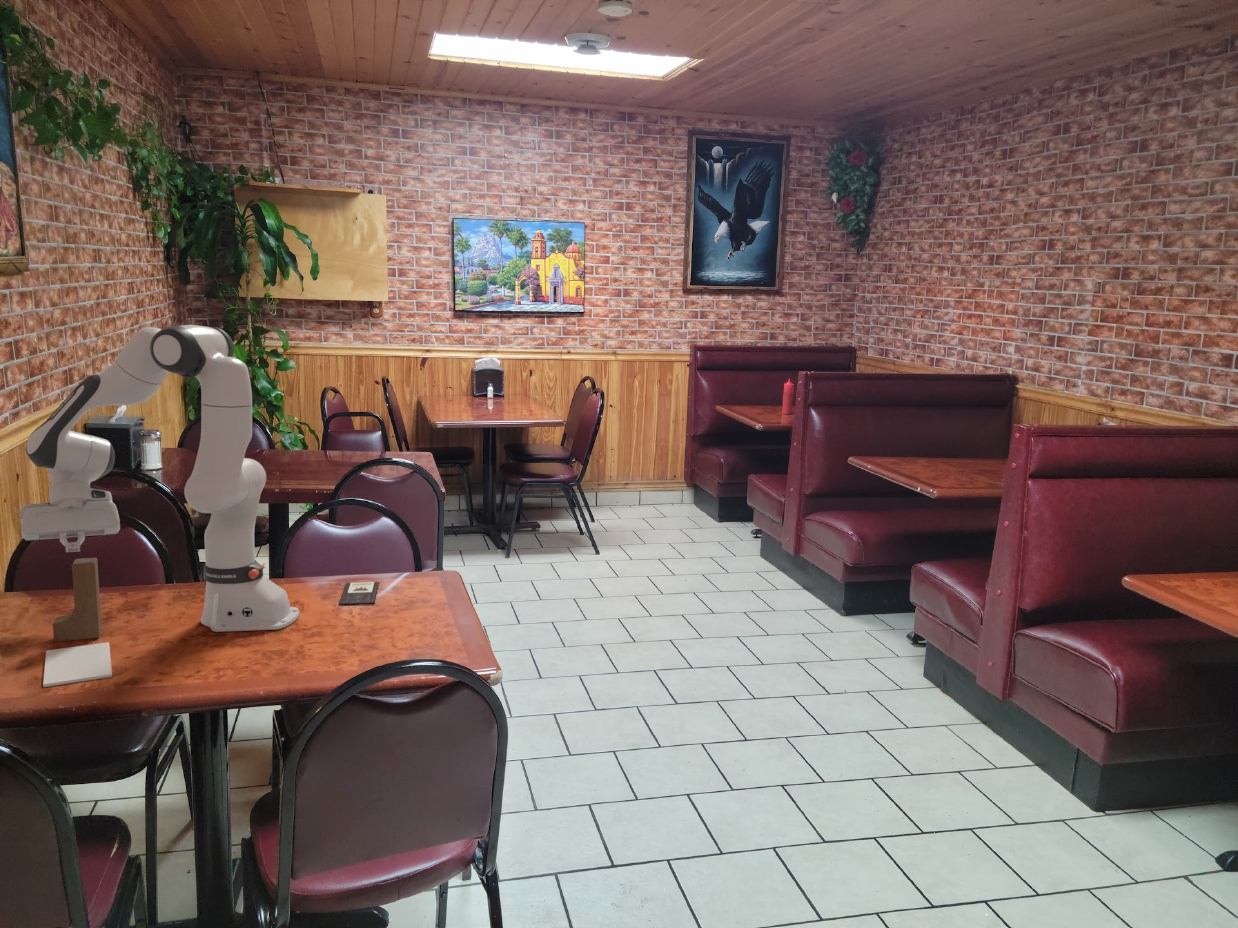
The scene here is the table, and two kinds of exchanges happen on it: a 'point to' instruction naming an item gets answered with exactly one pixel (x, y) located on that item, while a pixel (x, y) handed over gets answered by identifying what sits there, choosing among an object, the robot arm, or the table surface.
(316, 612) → the table surface
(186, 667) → the table surface
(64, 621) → the wooden block
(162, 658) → the table surface
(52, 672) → the white board
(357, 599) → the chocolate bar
